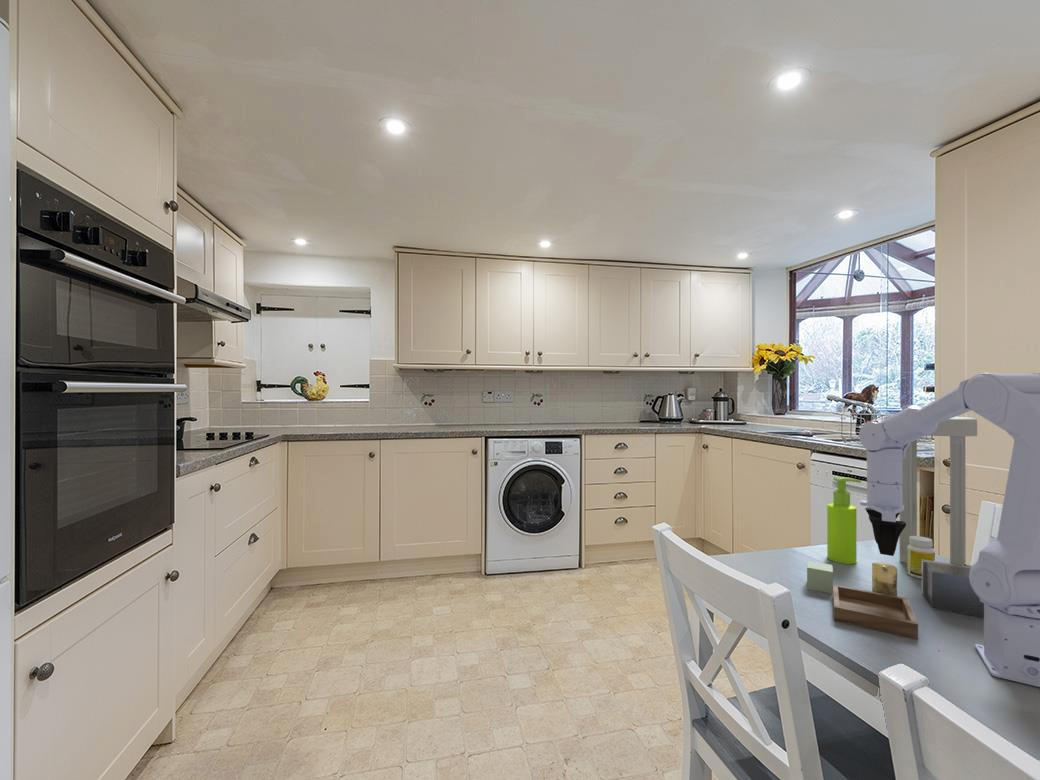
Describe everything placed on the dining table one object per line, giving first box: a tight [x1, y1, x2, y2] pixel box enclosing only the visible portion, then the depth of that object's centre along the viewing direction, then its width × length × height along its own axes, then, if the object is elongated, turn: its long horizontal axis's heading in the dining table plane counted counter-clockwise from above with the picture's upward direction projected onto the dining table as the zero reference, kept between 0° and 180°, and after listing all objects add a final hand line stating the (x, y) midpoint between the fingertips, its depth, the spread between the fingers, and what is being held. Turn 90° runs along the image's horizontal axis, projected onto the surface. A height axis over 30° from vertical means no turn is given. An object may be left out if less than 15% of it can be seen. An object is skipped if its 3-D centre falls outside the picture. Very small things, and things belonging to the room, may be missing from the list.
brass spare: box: [871, 562, 898, 596], centre depth 95 cm, size 4×4×6 cm
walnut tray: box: [832, 584, 919, 640], centre depth 86 cm, size 12×12×2 cm
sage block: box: [806, 560, 834, 594], centre depth 99 cm, size 4×4×4 cm
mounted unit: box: [921, 560, 984, 619], centre depth 90 cm, size 8×9×7 cm
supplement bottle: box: [906, 535, 936, 580], centre depth 105 cm, size 5×5×8 cm
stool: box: [899, 416, 978, 566], centre depth 114 cm, size 16×16×35 cm
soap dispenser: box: [826, 476, 862, 565], centre depth 115 cm, size 6×7×20 cm
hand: (884, 549), depth 95 cm, fingers open, 7 cm apart
